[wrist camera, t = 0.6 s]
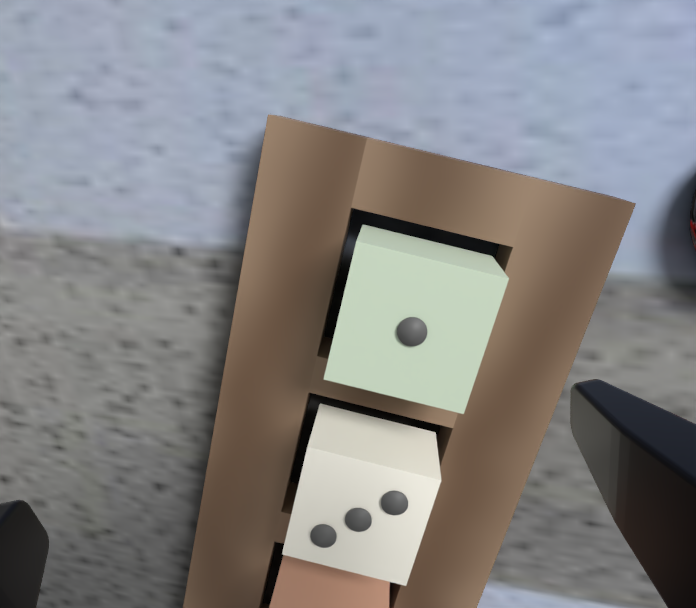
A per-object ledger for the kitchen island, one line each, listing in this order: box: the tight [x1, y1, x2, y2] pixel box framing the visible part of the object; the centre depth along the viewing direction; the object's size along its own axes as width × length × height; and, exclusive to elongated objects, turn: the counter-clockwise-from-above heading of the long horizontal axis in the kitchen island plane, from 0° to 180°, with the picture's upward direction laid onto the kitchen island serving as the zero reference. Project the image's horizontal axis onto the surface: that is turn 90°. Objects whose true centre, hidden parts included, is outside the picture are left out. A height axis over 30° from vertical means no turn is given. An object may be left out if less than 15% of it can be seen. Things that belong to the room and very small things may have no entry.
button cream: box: [282, 404, 441, 586], centre depth 20 cm, size 4×4×3 cm
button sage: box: [324, 225, 509, 414], centre depth 18 cm, size 4×4×3 cm
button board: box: [183, 115, 636, 608], centre depth 22 cm, size 12×24×2 cm, turn 167°
